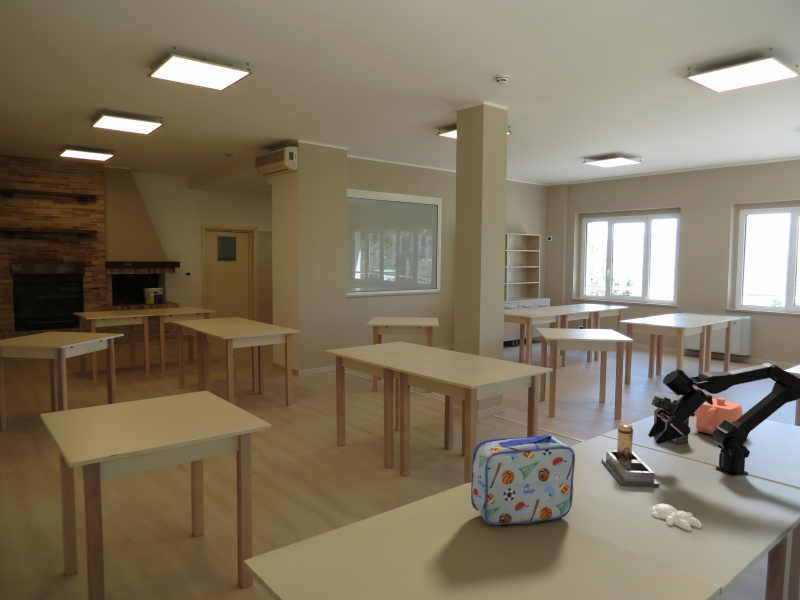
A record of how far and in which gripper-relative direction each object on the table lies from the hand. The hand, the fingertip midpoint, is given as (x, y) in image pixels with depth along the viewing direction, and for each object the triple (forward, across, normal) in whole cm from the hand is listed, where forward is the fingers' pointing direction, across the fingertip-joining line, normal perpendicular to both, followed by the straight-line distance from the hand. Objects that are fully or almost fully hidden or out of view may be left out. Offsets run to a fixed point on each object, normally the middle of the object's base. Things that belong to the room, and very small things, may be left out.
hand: (652, 439), depth 168 cm
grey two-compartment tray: (+13, +5, 0) cm, 14 cm away
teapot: (-17, -46, +28) cm, 57 cm away
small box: (-4, -32, +15) cm, 36 cm away
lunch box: (+38, +40, -22) cm, 60 cm away
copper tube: (+12, +1, -1) cm, 12 cm away
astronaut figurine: (+12, +33, +7) cm, 36 cm away
